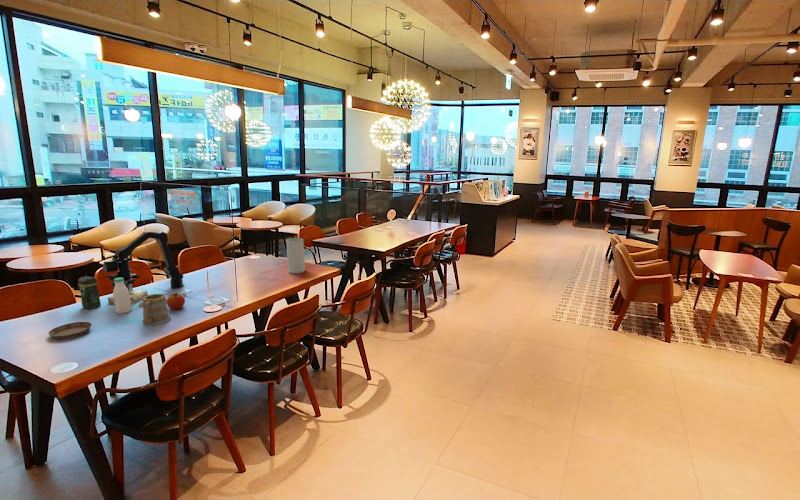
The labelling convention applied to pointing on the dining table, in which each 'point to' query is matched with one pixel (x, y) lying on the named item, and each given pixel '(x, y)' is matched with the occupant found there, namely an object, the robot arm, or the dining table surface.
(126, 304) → the milk bottle
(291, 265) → the cylinder vase
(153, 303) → the tankard
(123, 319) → the dining table surface
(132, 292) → the tall grey box
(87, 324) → the plant saucer
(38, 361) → the dining table surface
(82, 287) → the coffee jar
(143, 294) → the well block
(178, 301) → the fruit
